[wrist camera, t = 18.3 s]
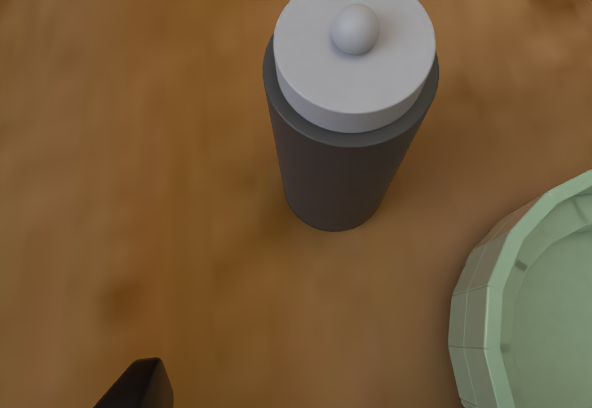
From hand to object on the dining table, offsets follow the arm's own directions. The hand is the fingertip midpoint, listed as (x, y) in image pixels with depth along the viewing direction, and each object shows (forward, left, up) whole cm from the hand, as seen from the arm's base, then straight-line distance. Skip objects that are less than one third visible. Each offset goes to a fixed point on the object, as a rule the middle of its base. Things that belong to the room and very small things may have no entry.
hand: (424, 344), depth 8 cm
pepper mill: (+5, +6, -14) cm, 16 cm away
